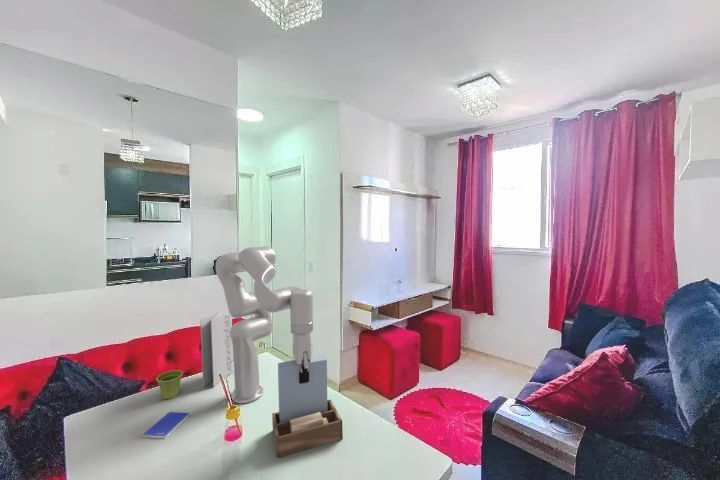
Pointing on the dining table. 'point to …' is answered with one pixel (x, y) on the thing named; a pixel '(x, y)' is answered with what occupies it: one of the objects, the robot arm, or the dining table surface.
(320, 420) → the offcut stack
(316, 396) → the panel
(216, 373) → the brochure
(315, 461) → the dining table surface
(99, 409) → the dining table surface
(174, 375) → the plant pot
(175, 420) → the hard drive
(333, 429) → the brown wooden open box
